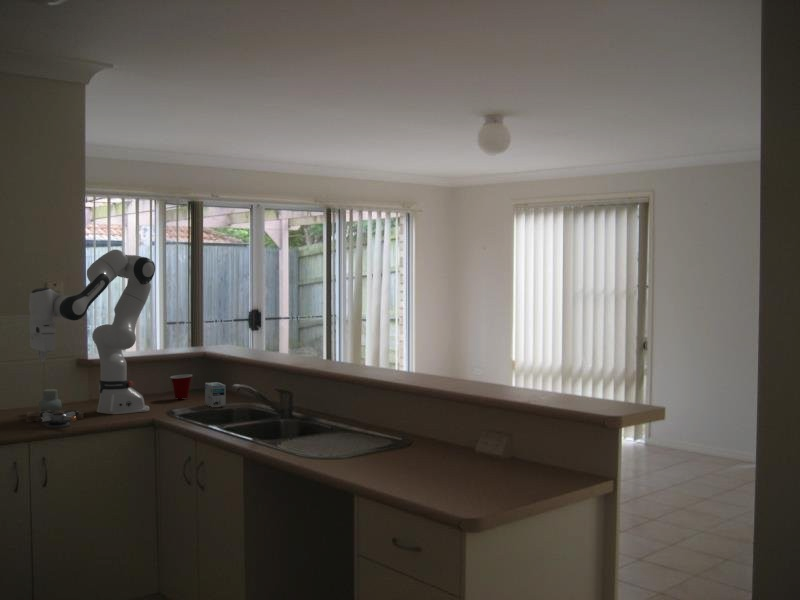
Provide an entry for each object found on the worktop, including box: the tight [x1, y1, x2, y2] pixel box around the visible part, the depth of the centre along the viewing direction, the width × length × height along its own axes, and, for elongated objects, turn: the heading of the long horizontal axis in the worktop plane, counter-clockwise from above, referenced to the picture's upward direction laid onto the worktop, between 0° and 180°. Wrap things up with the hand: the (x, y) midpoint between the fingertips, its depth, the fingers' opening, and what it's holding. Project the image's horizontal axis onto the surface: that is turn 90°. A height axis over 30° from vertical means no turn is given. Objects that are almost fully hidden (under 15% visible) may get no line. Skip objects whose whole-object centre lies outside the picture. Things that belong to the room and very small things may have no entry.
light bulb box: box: [204, 381, 227, 406], centre depth 359 cm, size 11×7×11 cm, turn 34°
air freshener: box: [38, 388, 63, 412], centre depth 337 cm, size 11×8×10 cm
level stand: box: [25, 408, 85, 423], centre depth 324 cm, size 22×10×4 cm, turn 114°
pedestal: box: [45, 421, 71, 429], centre depth 308 cm, size 9×9×1 cm
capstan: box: [35, 409, 79, 425], centre depth 308 cm, size 20×20×5 cm
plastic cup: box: [169, 373, 193, 399], centre depth 377 cm, size 11×11×12 cm
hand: (42, 361), depth 311 cm, fingers closed
